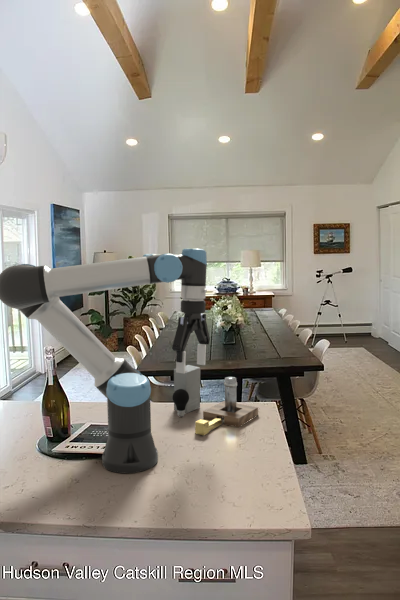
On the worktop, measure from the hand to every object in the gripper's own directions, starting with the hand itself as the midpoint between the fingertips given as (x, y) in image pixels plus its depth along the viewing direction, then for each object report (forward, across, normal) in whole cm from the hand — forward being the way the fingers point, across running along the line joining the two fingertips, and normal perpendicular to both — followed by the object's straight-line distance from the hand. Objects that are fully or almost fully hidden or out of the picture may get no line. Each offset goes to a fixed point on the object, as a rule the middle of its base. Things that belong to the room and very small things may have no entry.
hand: (191, 368), depth 146 cm
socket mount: (+21, +23, -4) cm, 31 cm away
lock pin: (+21, +9, -3) cm, 24 cm away
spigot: (+21, +23, -4) cm, 31 cm away
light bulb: (+22, +16, +12) cm, 30 cm away
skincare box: (+22, +24, +14) cm, 35 cm away
